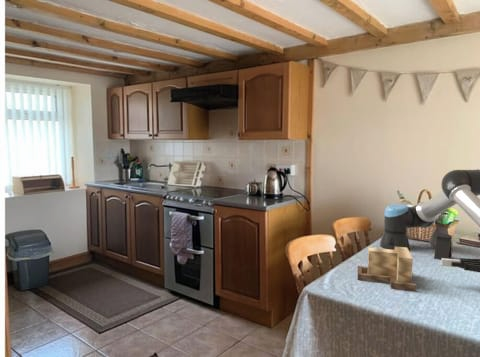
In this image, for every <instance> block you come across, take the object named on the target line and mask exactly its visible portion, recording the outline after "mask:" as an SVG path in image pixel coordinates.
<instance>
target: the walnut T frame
mask: <svg viewBox="0 0 480 357" xmlns="http://www.w3.org/2000/svg"><path fill="white" fill-rule="evenodd" d="M357 281H365V282H374V283H382V284H389V287H390V289H391V290H392V289H393V290H398V291H399V290H401V291H407V292H408V291H409V292H415V293H416V292H417V284H416V283H412V282H411V283H403V282H396V281H395V280H394V277H391V276H381V275H372V274H368V266H363V265H357Z"/></svg>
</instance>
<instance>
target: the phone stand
mask: <svg viewBox="0 0 480 357" xmlns="http://www.w3.org/2000/svg"><path fill="white" fill-rule="evenodd" d="M452 237H453V236H452V235H450V234H449V235H445V234H439V233H438V234H437V242H436V248H434V254H433V255H434V257H433V259H435V260H440V261H441V259H442V258H445V259H452V257H453V255H452V254H453V253H452V250H453V248H452V247H453V245H452V246H451V241H452Z"/></svg>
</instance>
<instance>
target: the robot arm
mask: <svg viewBox="0 0 480 357" xmlns="http://www.w3.org/2000/svg"><path fill="white" fill-rule="evenodd" d="M441 189H442V191H440V192H438V194H436V195H434V196H433V197H432V198H431V197H430V199H428V200H426V201H425V202H424V201H420V202H419V203H417V204H416V205H414V206H408V205H407V204H401V203H399V204H398V203H396V204H388V205H387V206H386V207H385V210H384V213H383V214H384V223H383V224H384V226H383V233H382V236H381V240H379V246H380V247H381V248H382V249H390V250H394V249H395V247H406V248H408V250H410V247H411V246H410V241H409V238H408V234H407V233H408V229H413V228H417V229H418V228H420V229H421V228H422V229H423V228H429V227H431V226H433V225H435V222H436V219H437V216H438V215H440V214H442V213H443V212H445V211H447V210H449V209H450V208H452V207H454V206H455V205H458V206H459V207H460V208H461V209H462V210H463V211H464V213H466V214H467V216H468V217H469V218H471V220H472V221H474V223H475V224H476V225H477V226H478V227H479V228H480V198H479V197H478V196H480V169H479V168H478V169H453V170H451V171H449V172H447V173H446V174H445V175H444V176H443V177H442V179H441ZM440 265H441V266H442V267H448V268H449V267H450V268H458V269H459V268H460V269H463V270H464V271H469V272H475V273H480V258H468V257H467V258H464V257H463V258H462V257H461V258H459V259H455V258H453V259H452V258H450V259H445V258H442V259H441V260H440Z"/></svg>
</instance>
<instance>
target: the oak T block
mask: <svg viewBox="0 0 480 357" xmlns="http://www.w3.org/2000/svg"><path fill="white" fill-rule="evenodd" d="M409 250H410V249H408V248H406V247H395V249H394V250H390V249H386V248H377V247H368V253H367V256H368V257H367V267H368V273H367V274H372V275H381V276H391V277H394V280H395V282H403V283H412V278H413V276H412V275H413V260H414V258H413V257H412V254H411V252H410V251H409Z"/></svg>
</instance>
